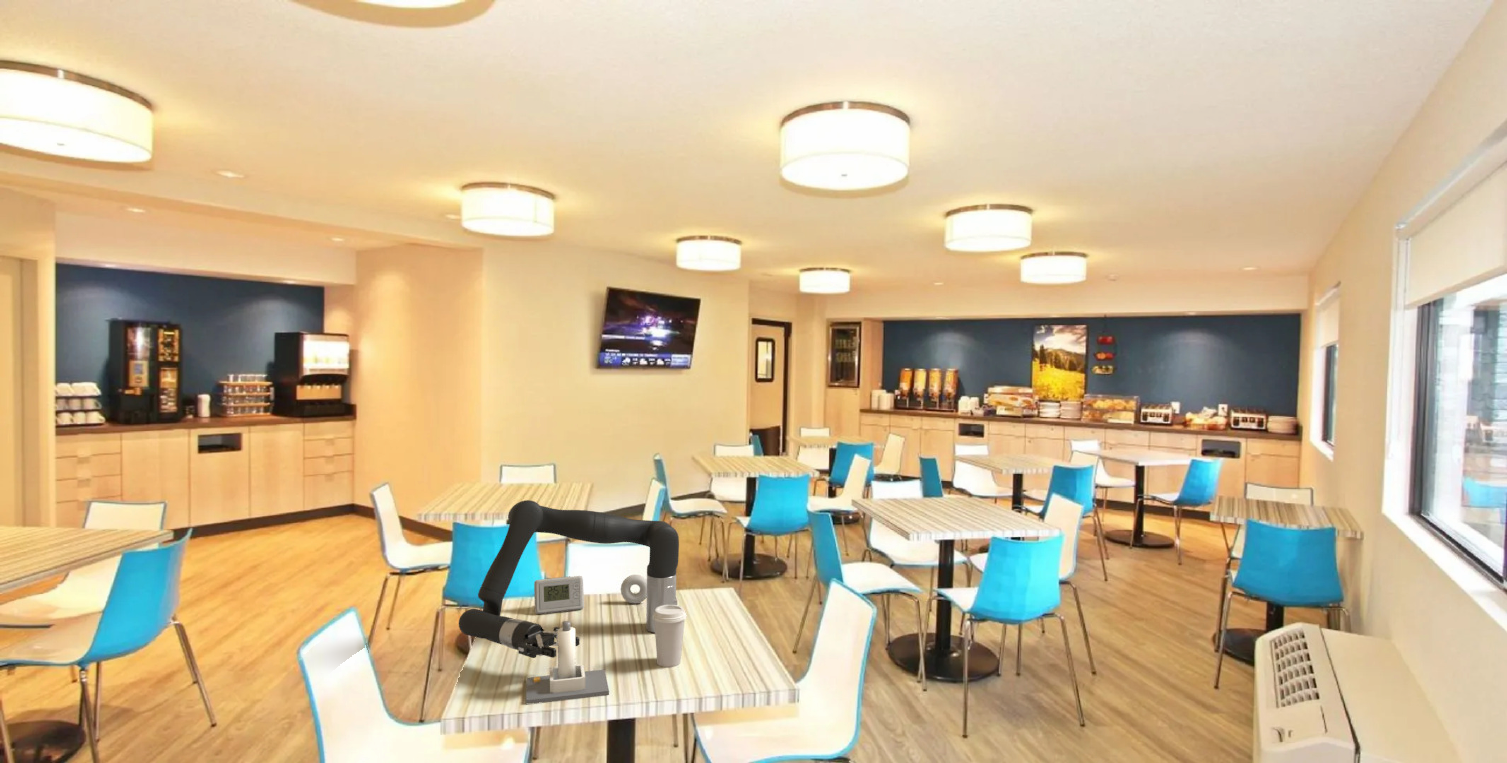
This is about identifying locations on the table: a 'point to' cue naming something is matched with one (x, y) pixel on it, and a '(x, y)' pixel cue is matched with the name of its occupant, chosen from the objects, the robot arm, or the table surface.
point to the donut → (627, 592)
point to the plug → (566, 651)
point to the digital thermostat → (558, 594)
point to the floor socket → (566, 686)
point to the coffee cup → (669, 634)
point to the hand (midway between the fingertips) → (567, 647)
